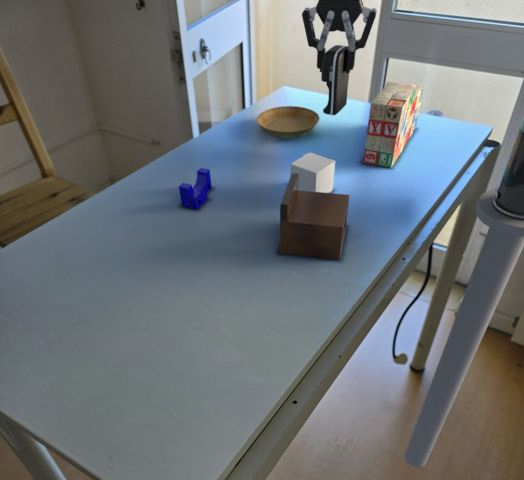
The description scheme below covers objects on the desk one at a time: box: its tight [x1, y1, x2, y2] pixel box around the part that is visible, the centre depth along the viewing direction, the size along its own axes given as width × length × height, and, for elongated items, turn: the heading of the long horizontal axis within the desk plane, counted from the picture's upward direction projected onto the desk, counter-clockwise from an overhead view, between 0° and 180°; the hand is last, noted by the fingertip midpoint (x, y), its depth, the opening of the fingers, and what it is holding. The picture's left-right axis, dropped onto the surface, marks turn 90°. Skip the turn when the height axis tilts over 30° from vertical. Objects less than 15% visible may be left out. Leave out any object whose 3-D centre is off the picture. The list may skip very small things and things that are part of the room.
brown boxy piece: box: [279, 173, 350, 260], centre depth 79 cm, size 10×10×9 cm
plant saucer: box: [256, 105, 321, 139], centre depth 112 cm, size 15×15×3 cm
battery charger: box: [320, 44, 350, 116], centre depth 95 cm, size 7×4×11 cm, turn 152°
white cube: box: [289, 151, 336, 193], centre depth 91 cm, size 6×6×6 cm
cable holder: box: [178, 167, 213, 210], centre depth 91 cm, size 8×4×4 cm, turn 154°
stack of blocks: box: [362, 81, 424, 169], centre depth 101 cm, size 21×6×12 cm, turn 154°
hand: (335, 71), depth 94 cm, fingers closed on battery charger, 4 cm apart
